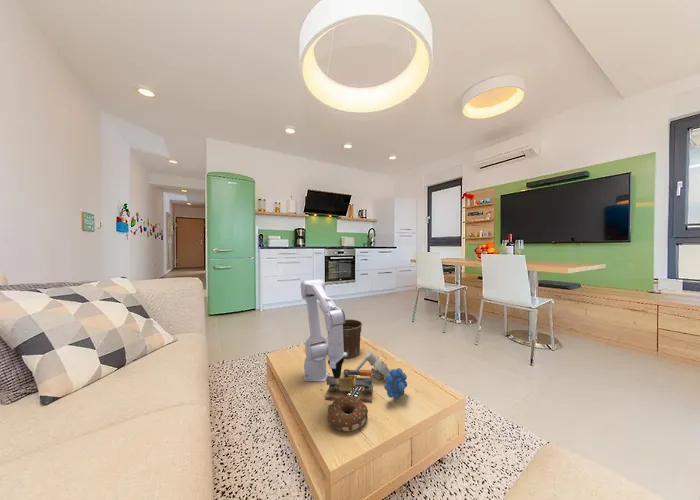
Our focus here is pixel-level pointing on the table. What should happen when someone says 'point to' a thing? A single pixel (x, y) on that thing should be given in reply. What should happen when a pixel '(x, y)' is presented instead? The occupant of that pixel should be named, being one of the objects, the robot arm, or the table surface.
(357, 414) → the donut
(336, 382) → the pipe and valve body
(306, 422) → the table surface
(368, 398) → the walnut board
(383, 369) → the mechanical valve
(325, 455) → the table surface
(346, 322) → the plant pot
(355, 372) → the valve lever
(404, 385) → the grapes
